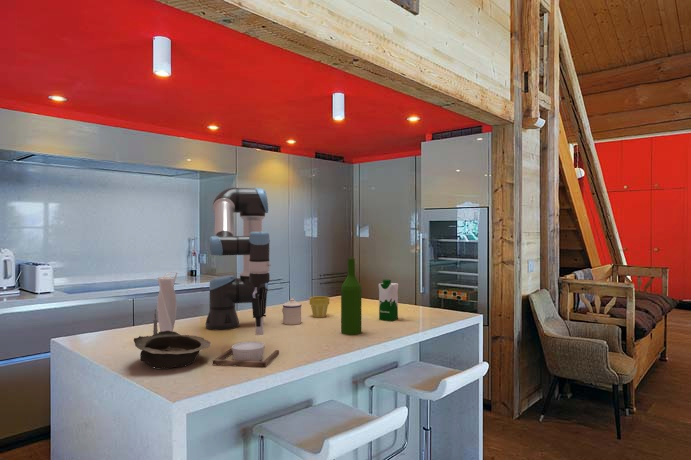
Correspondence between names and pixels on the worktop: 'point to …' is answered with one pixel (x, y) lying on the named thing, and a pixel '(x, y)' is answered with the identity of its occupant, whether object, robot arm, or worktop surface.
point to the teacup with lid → (291, 312)
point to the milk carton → (388, 301)
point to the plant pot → (319, 305)
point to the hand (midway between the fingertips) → (259, 334)
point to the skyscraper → (166, 304)
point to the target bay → (264, 363)
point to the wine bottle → (351, 302)
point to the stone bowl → (170, 349)
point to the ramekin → (248, 351)
